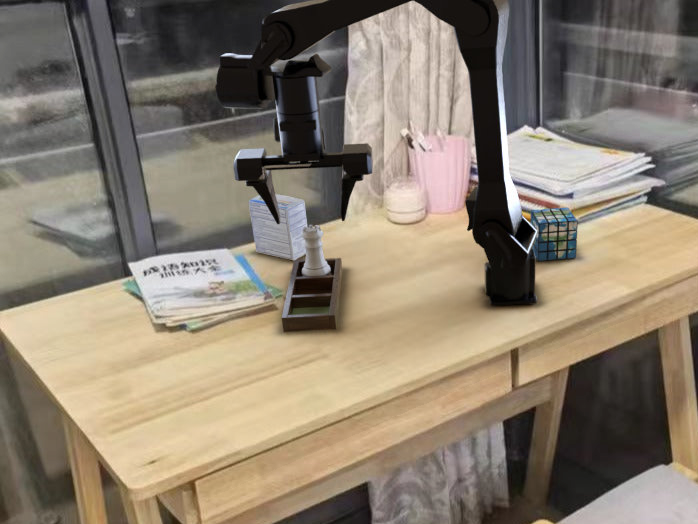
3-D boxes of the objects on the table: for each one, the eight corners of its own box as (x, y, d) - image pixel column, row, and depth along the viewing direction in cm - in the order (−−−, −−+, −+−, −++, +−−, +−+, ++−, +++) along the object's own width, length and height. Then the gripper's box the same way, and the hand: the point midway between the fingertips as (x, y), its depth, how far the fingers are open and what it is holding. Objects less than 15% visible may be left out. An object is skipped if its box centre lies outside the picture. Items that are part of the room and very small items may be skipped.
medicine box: (311, 252, 150) (305, 198, 145) (293, 262, 147) (286, 208, 142) (273, 243, 153) (266, 191, 149) (255, 252, 150) (247, 199, 145)
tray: (342, 270, 143) (341, 257, 142) (336, 329, 127) (334, 315, 126) (295, 272, 143) (294, 259, 142) (283, 332, 127) (281, 317, 126)
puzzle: (576, 258, 144) (578, 220, 141) (537, 261, 144) (538, 223, 141) (566, 243, 149) (568, 206, 146) (529, 246, 149) (530, 209, 145)
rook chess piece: (338, 278, 140) (333, 226, 136) (315, 288, 137) (309, 236, 133) (318, 270, 143) (313, 219, 138) (296, 280, 140) (289, 228, 136)
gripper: (369, 91, 133) (377, 199, 142) (236, 97, 133) (252, 205, 142) (367, 112, 124) (376, 226, 133) (224, 119, 124) (243, 232, 132)
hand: (311, 221), depth 135 cm, fingers open, 9 cm apart
